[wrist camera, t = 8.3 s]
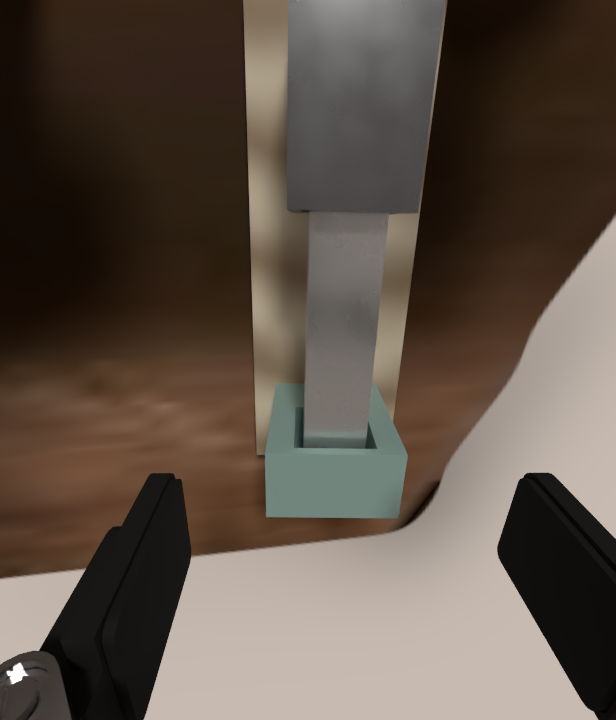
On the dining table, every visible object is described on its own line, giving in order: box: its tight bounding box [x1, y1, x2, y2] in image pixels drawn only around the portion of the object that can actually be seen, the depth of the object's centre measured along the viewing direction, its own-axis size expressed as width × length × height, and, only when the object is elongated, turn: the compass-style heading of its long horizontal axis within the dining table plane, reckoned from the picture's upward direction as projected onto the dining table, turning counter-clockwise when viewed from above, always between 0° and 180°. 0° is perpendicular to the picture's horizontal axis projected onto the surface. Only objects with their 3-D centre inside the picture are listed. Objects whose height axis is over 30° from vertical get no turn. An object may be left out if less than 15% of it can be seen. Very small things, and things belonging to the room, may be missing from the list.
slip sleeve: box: [287, 0, 445, 215], centre depth 16 cm, size 9×5×8 cm, turn 178°
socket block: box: [265, 383, 408, 518], centre depth 22 cm, size 4×7×8 cm, turn 88°
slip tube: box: [303, 210, 389, 449], centre depth 18 cm, size 16×3×3 cm, turn 178°
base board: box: [243, 0, 447, 455], centre depth 23 cm, size 28×10×2 cm, turn 178°
